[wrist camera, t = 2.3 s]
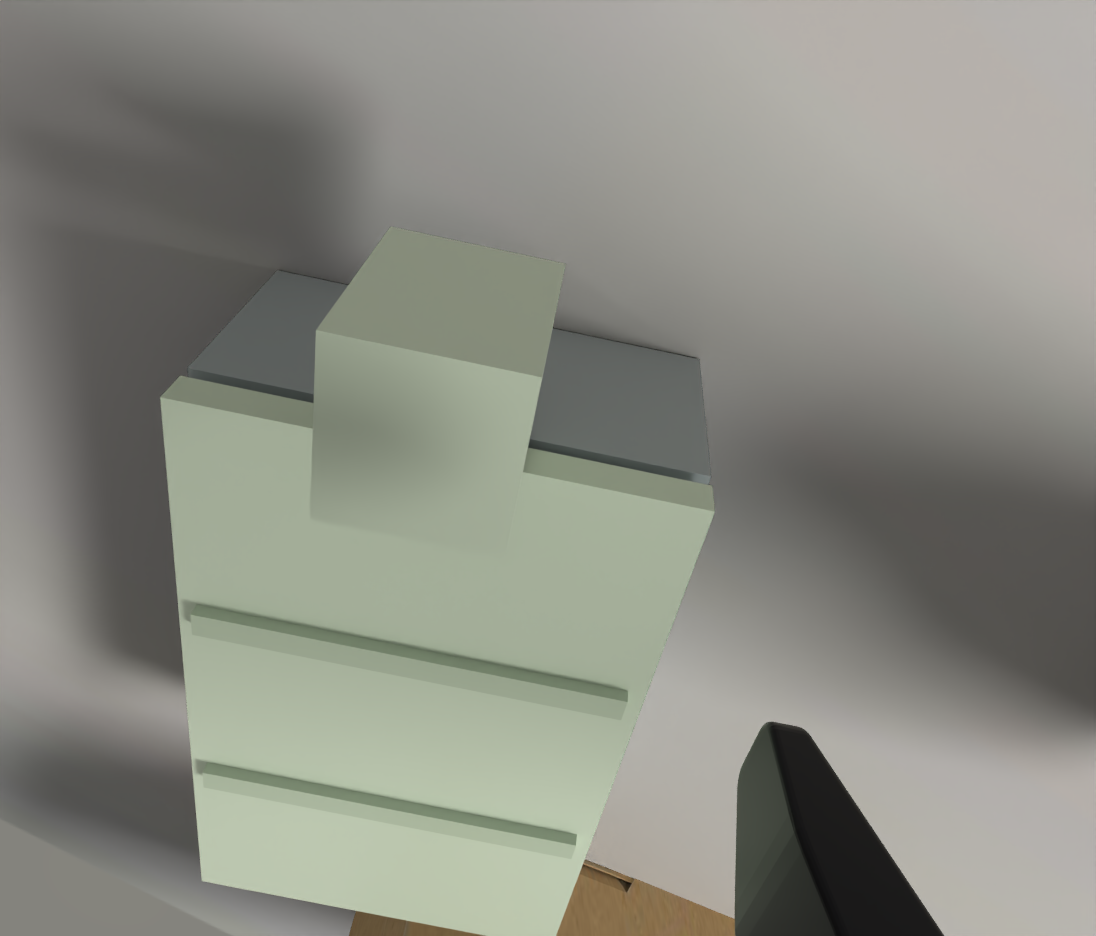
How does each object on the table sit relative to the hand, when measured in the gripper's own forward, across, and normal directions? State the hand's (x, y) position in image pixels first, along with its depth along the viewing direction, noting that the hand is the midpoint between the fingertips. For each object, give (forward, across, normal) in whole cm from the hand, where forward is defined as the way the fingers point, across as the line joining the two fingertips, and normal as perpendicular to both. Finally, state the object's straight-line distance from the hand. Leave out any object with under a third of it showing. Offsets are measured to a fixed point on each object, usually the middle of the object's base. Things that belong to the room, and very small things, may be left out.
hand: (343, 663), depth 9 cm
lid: (+8, 0, +8) cm, 11 cm away
